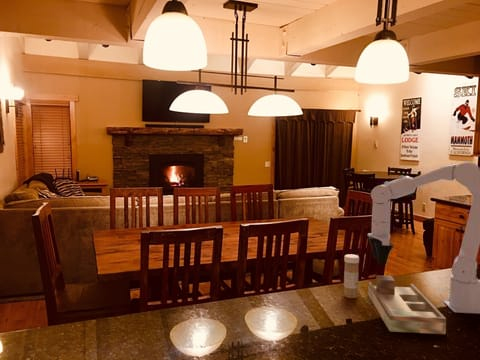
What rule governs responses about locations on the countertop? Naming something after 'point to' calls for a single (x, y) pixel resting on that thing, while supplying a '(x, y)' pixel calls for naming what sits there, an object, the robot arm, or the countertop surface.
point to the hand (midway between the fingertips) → (379, 261)
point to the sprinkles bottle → (351, 276)
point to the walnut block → (385, 285)
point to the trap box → (408, 311)
